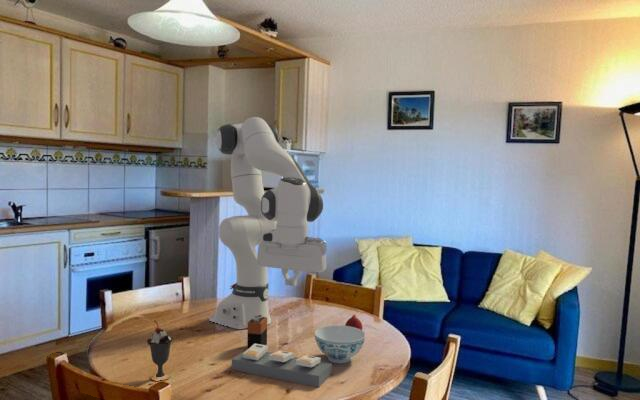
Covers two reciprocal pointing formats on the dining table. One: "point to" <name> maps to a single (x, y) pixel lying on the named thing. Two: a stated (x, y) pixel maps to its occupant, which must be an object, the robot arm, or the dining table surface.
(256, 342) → the battery
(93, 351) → the dining table surface
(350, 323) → the red rounded piece
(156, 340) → the sundae
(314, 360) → the block
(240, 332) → the dining table surface
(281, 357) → the rocker
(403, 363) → the dining table surface
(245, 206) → the robot arm
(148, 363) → the dining table surface
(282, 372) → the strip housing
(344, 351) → the chinaware
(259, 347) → the rocker
